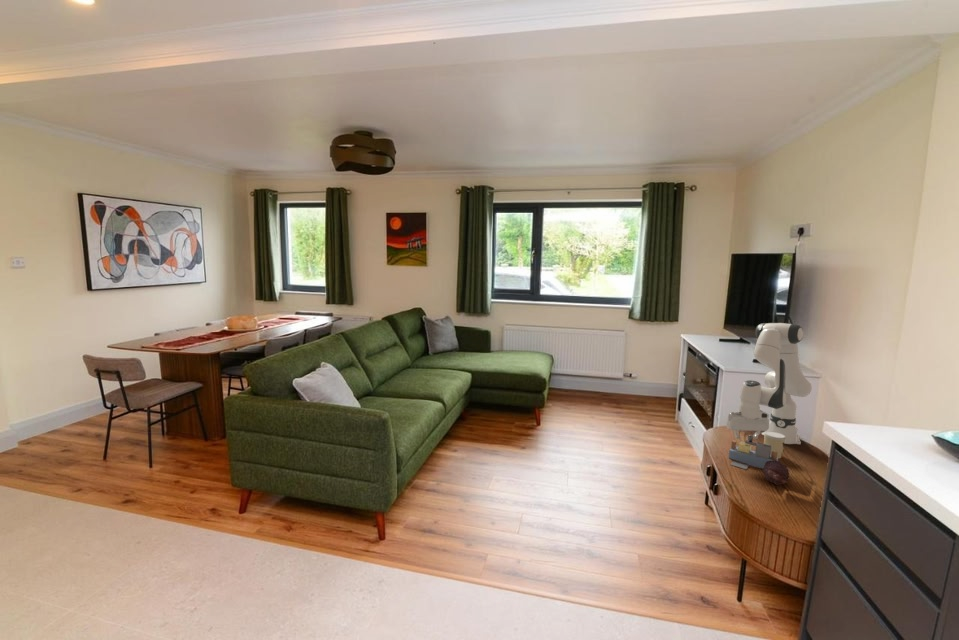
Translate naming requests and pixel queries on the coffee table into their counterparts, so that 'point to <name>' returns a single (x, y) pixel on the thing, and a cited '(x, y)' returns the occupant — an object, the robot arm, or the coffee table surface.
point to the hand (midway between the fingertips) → (746, 438)
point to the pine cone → (776, 472)
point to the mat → (739, 465)
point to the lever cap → (744, 447)
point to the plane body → (753, 455)
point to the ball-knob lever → (750, 439)
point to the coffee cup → (775, 442)
